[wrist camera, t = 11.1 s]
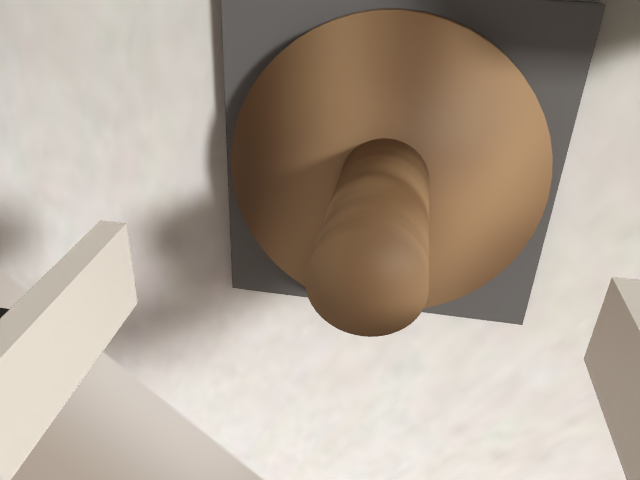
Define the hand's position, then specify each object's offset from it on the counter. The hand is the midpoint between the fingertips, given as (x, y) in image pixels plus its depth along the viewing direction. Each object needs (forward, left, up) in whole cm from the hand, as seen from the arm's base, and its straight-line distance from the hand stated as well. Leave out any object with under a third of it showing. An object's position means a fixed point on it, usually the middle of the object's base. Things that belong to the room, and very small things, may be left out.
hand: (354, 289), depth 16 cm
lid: (0, 0, -10) cm, 10 cm away
